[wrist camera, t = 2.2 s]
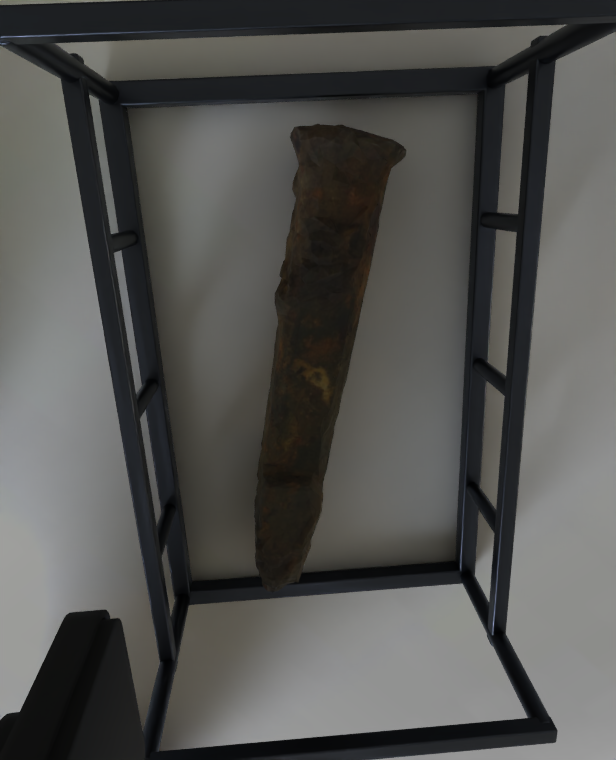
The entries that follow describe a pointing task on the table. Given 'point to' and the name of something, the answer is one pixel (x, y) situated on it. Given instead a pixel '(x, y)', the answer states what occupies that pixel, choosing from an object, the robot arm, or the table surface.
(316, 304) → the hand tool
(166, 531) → the drying rack
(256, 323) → the table surface
